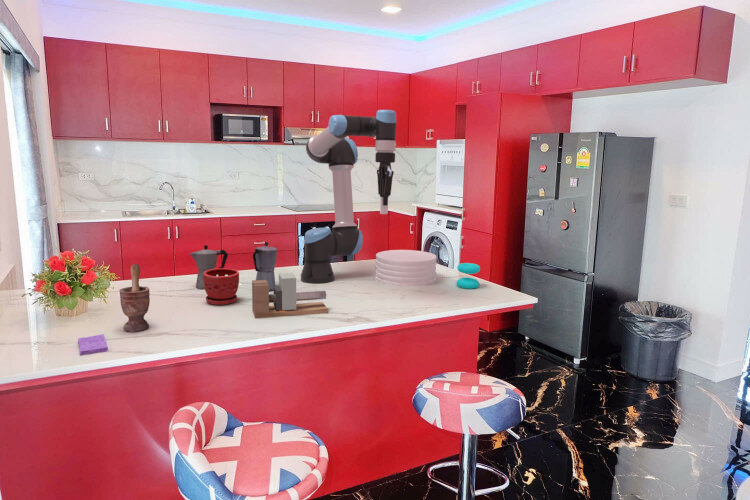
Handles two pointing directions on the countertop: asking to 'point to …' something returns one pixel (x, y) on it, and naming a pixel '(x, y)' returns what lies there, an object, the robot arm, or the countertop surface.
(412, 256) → the plate stack
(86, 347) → the sponges
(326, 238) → the robot arm
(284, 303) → the sleeve
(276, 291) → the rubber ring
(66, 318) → the countertop surface
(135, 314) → the mortar and pestle
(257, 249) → the moka pot
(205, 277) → the plant pot
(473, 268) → the donuts
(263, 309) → the pipe rig
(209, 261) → the coffeepot
